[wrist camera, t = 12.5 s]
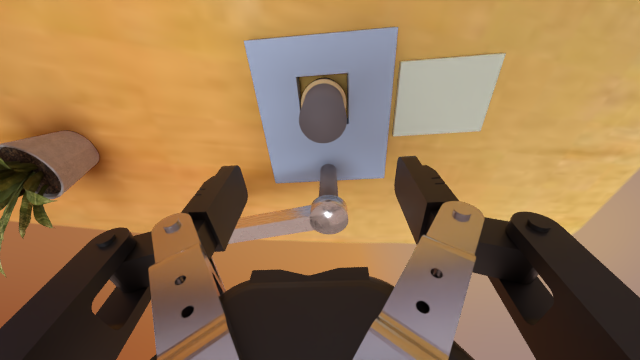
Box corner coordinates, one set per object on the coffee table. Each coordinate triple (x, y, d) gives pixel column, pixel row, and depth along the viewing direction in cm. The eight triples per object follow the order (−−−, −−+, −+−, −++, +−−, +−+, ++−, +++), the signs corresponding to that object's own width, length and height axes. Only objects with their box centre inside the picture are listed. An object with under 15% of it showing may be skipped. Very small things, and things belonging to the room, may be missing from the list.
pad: (501, 52, 23) (505, 53, 22) (477, 129, 27) (480, 131, 27) (399, 61, 23) (401, 61, 23) (392, 134, 28) (393, 136, 27)
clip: (194, 218, 24) (186, 230, 23) (343, 191, 21) (344, 202, 20) (211, 242, 26) (204, 253, 24) (349, 219, 23) (351, 231, 22)
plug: (344, 72, 24) (350, 90, 18) (344, 115, 27) (350, 144, 20) (301, 76, 25) (291, 94, 18) (306, 118, 27) (298, 147, 20)
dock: (392, 27, 22) (425, 27, 15) (381, 169, 31) (397, 213, 24) (250, 40, 23) (213, 46, 16) (278, 175, 32) (264, 218, 24)
